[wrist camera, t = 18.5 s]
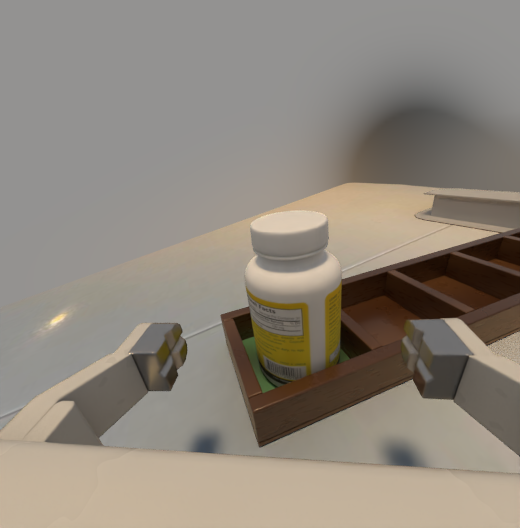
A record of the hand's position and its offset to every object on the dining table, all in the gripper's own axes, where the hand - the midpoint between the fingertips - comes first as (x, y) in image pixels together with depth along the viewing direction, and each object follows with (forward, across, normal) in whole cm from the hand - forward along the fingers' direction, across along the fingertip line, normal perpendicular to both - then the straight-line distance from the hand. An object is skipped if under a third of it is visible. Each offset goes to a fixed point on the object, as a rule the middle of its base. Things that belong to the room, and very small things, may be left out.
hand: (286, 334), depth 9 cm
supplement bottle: (+5, 0, +7) cm, 9 cm away
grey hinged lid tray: (+33, -33, +8) cm, 48 cm away
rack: (+12, -14, +8) cm, 19 cm away
